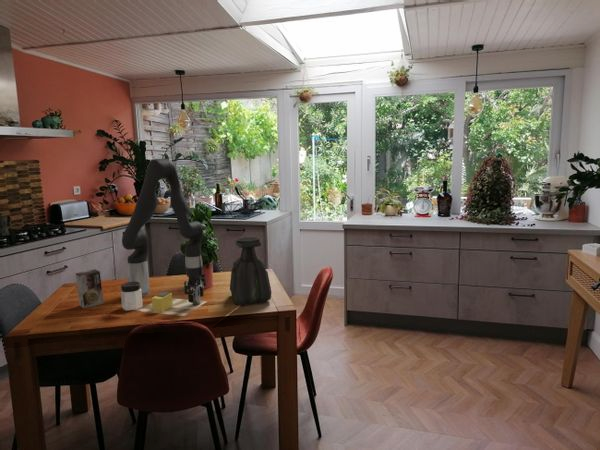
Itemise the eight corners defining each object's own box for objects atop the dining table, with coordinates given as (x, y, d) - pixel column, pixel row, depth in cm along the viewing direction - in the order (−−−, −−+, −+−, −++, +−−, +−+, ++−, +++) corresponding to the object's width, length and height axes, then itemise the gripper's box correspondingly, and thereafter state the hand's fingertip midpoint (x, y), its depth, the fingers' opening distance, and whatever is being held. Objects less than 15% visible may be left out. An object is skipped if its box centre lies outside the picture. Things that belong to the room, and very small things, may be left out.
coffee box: (98, 300, 211) (95, 268, 208) (103, 303, 206) (100, 271, 203) (79, 305, 204) (75, 272, 202) (83, 308, 200) (80, 275, 197)
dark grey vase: (265, 293, 216) (263, 234, 211) (272, 303, 200) (270, 240, 196) (229, 297, 211) (226, 237, 206) (234, 308, 195) (231, 243, 190)
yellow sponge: (152, 310, 192) (151, 296, 191) (163, 304, 199) (162, 291, 198) (162, 311, 190) (161, 297, 189) (172, 305, 198) (171, 292, 196)
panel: (136, 312, 193) (136, 310, 192) (162, 299, 210) (162, 297, 210) (184, 318, 185) (184, 315, 184) (207, 303, 202) (207, 301, 202)
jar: (120, 313, 193) (118, 287, 191) (123, 307, 200) (121, 282, 198) (141, 311, 194) (139, 285, 193) (144, 305, 202) (142, 280, 200)
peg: (191, 305, 198) (189, 286, 197) (195, 302, 201) (194, 284, 200) (197, 305, 197) (196, 286, 195) (202, 303, 200) (200, 284, 199)
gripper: (192, 269, 188) (195, 305, 191) (209, 262, 201) (211, 295, 204) (177, 268, 191) (180, 303, 193) (195, 261, 204) (197, 294, 206)
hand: (196, 299), depth 199 cm, fingers open, 8 cm apart
